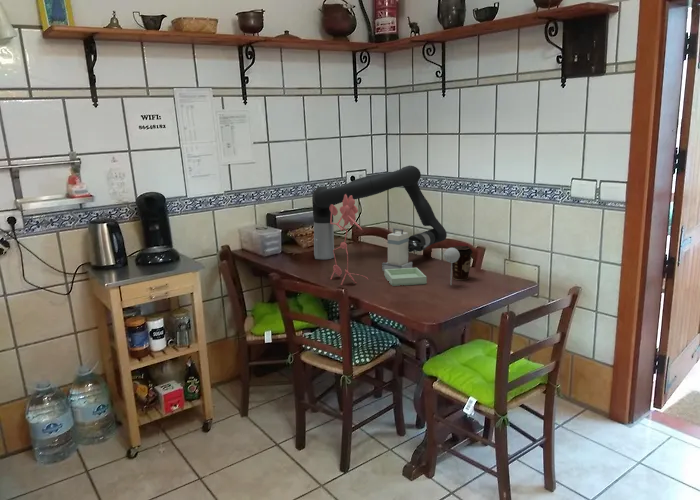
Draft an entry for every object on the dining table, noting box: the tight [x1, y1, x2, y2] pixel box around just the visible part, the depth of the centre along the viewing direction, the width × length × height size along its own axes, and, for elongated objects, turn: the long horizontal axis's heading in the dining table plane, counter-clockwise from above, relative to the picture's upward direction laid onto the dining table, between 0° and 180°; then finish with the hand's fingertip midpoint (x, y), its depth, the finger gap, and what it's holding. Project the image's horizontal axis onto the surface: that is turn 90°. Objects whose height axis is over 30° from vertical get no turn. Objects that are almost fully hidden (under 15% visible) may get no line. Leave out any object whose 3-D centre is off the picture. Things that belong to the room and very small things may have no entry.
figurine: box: [329, 194, 369, 286], centre depth 219 cm, size 15×26×35 cm, turn 29°
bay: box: [381, 261, 413, 272], centre depth 236 cm, size 10×9×4 cm
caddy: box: [387, 227, 409, 266], centre depth 235 cm, size 8×6×18 cm
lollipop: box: [443, 247, 460, 286], centre depth 213 cm, size 6×6×15 cm
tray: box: [383, 267, 428, 287], centre depth 221 cm, size 14×14×3 cm
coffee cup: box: [452, 245, 474, 281], centre depth 222 cm, size 9×8×13 cm
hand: (400, 248), depth 237 cm, fingers open, 8 cm apart
